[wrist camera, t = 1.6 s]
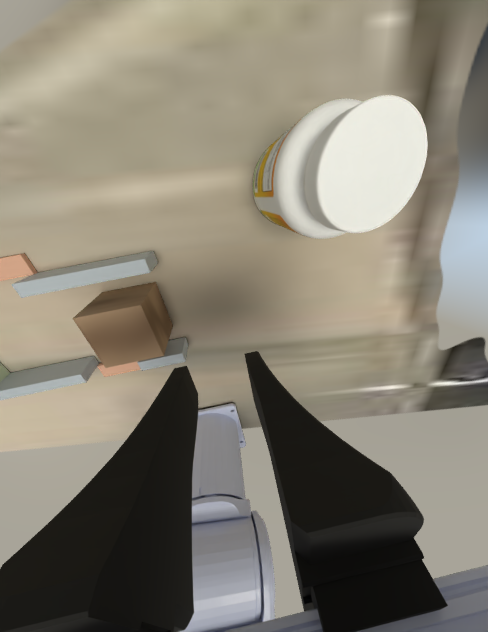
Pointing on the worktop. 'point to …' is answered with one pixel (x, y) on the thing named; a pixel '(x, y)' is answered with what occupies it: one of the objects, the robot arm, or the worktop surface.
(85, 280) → the channel
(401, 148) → the supplement bottle
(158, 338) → the walnut block
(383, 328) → the worktop surface
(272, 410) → the robot arm
